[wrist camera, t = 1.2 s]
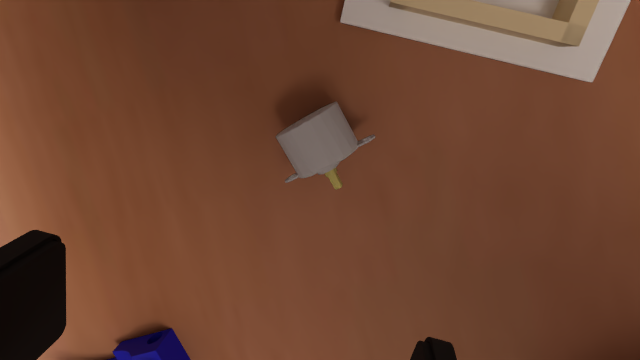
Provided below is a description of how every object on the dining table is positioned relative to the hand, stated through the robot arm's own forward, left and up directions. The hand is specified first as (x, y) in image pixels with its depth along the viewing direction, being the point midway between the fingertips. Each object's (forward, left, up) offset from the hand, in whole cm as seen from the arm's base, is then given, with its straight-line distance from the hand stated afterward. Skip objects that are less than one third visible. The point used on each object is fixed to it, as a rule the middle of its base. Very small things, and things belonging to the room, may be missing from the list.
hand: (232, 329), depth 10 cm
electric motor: (0, 0, -20) cm, 20 cm away
